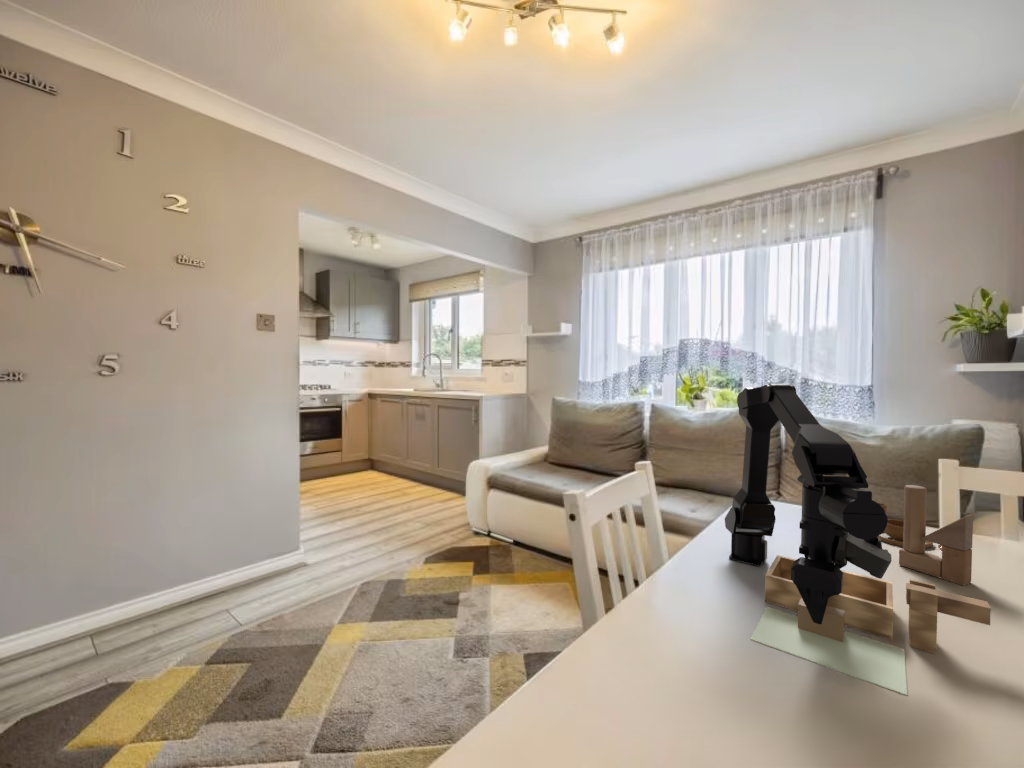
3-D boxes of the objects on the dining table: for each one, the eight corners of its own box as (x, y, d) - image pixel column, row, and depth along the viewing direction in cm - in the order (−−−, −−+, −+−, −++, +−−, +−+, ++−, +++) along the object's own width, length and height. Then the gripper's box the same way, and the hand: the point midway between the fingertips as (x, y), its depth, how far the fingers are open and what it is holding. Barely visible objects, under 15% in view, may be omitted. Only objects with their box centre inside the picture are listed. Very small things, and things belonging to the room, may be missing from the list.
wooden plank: (906, 604, 69) (907, 588, 69) (906, 597, 71) (906, 582, 71) (990, 625, 63) (990, 608, 63) (987, 618, 65) (987, 601, 65)
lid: (750, 643, 70) (751, 614, 70) (766, 611, 79) (767, 585, 79) (907, 700, 58) (908, 665, 58) (903, 654, 67) (904, 623, 67)
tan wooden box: (764, 602, 81) (765, 554, 81) (776, 578, 91) (777, 535, 90) (936, 654, 66) (937, 595, 66) (929, 619, 76) (931, 568, 75)
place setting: (850, 536, 116) (850, 514, 116) (873, 521, 128) (873, 501, 128) (941, 559, 102) (942, 534, 102) (958, 540, 114) (958, 517, 114)
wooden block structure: (963, 586, 88) (966, 497, 87) (898, 565, 97) (900, 485, 97) (972, 582, 89) (974, 495, 89) (906, 562, 99) (908, 483, 99)
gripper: (888, 546, 59) (885, 660, 59) (887, 513, 73) (885, 605, 73) (791, 527, 66) (789, 629, 66) (807, 500, 80) (806, 584, 80)
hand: (820, 611), depth 71 cm, fingers open, 9 cm apart
